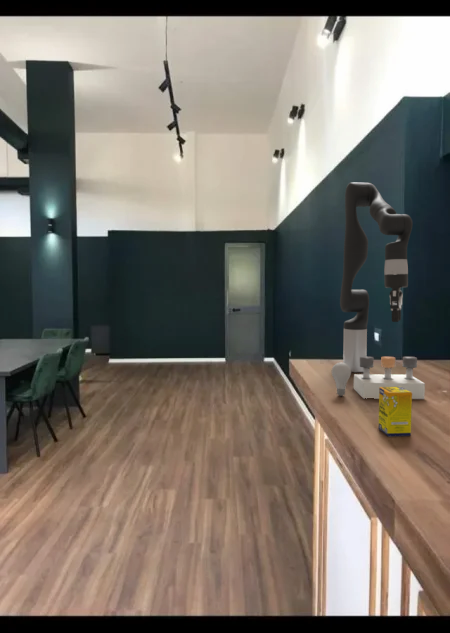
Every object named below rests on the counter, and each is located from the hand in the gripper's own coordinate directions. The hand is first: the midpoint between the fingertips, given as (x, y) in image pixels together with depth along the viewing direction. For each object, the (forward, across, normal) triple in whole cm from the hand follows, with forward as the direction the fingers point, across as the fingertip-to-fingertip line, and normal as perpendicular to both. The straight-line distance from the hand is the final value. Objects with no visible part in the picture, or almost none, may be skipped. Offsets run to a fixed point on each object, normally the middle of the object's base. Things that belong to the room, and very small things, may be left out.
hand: (396, 321), depth 166 cm
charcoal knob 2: (+20, +5, +4) cm, 21 cm away
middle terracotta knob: (+20, +8, -2) cm, 22 cm away
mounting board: (+24, +8, -2) cm, 25 cm away
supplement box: (+25, +49, +3) cm, 56 cm away
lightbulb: (+24, +17, -16) cm, 33 cm away
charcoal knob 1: (+20, +10, -9) cm, 24 cm away
